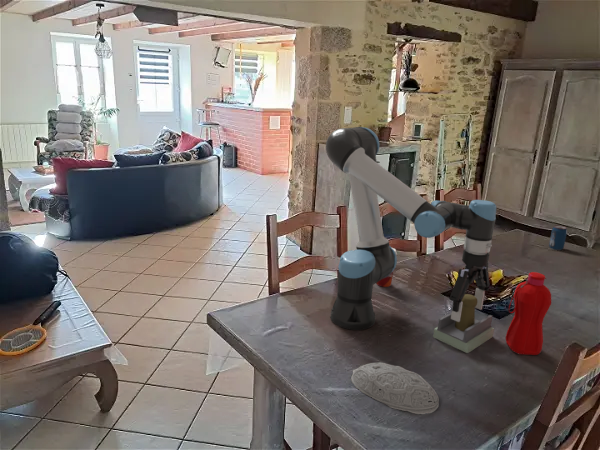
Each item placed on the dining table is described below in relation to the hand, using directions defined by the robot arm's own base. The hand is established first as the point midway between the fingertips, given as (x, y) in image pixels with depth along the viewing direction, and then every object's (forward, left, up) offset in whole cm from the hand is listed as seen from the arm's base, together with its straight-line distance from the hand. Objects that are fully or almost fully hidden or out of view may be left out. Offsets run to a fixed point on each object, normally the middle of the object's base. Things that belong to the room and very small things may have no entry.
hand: (466, 314), depth 144 cm
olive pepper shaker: (0, 0, -5) cm, 5 cm away
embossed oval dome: (-40, -3, -9) cm, 41 cm away
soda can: (+126, +18, -8) cm, 128 cm away
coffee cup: (+13, +43, -8) cm, 46 cm away
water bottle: (+8, -15, -8) cm, 19 cm away
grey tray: (0, 0, -8) cm, 8 cm away
